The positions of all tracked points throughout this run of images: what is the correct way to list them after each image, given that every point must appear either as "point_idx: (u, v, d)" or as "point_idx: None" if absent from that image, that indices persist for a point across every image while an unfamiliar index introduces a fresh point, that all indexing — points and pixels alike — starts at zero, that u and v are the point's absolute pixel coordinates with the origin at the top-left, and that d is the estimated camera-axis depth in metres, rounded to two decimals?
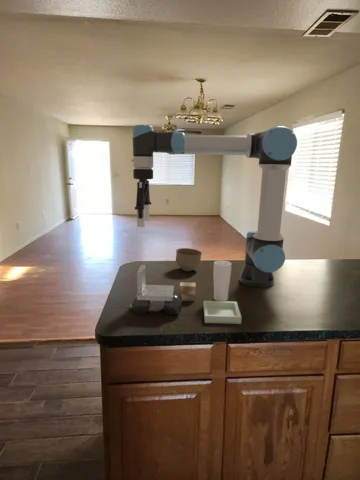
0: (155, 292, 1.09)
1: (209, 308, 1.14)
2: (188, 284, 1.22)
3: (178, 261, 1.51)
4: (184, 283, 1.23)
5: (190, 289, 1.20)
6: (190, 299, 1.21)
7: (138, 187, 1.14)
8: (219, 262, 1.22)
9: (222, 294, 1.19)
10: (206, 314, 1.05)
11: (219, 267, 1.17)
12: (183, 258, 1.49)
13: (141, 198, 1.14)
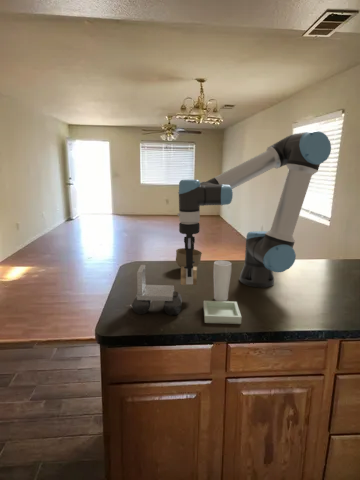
0: (155, 292, 1.09)
1: (209, 308, 1.14)
2: None
3: (178, 261, 1.51)
4: None
5: None
6: None
7: (187, 248, 1.12)
8: (219, 262, 1.22)
9: (222, 294, 1.19)
10: (206, 314, 1.05)
11: (219, 267, 1.17)
12: (183, 258, 1.49)
13: (191, 259, 1.13)
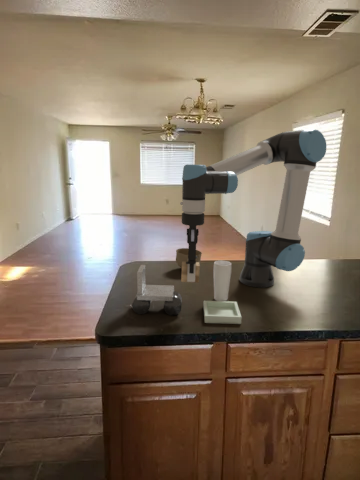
0: (155, 292, 1.09)
1: (209, 308, 1.14)
2: None
3: (178, 261, 1.51)
4: None
5: None
6: None
7: (190, 241, 1.00)
8: (219, 262, 1.22)
9: (222, 294, 1.19)
10: (206, 314, 1.05)
11: (219, 267, 1.17)
12: (183, 258, 1.49)
13: (193, 253, 1.01)
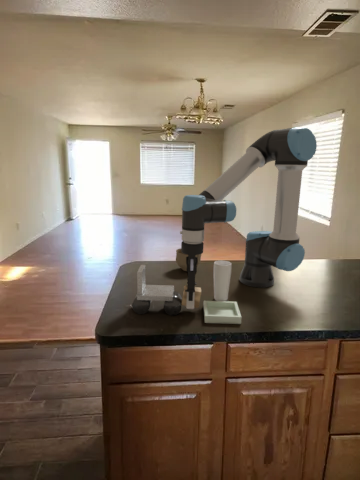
0: (155, 292, 1.09)
1: (209, 308, 1.14)
2: None
3: (178, 261, 1.51)
4: None
5: None
6: None
7: (189, 270, 1.02)
8: (219, 262, 1.22)
9: (222, 294, 1.19)
10: (206, 314, 1.05)
11: (219, 267, 1.17)
12: (183, 258, 1.49)
13: (193, 282, 1.04)
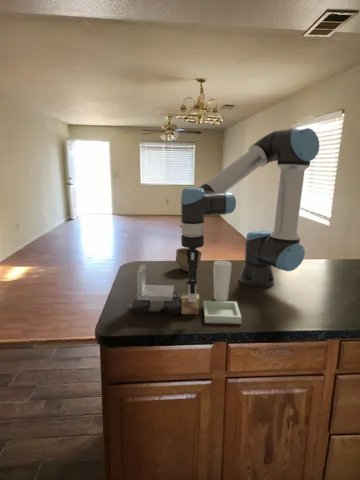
0: (155, 292, 1.09)
1: (209, 308, 1.14)
2: None
3: (178, 261, 1.51)
4: (186, 295, 1.12)
5: (193, 302, 1.09)
6: (193, 312, 1.10)
7: (190, 259, 1.01)
8: (219, 262, 1.22)
9: (222, 294, 1.19)
10: (206, 314, 1.05)
11: (219, 267, 1.17)
12: (183, 258, 1.49)
13: (194, 272, 1.00)
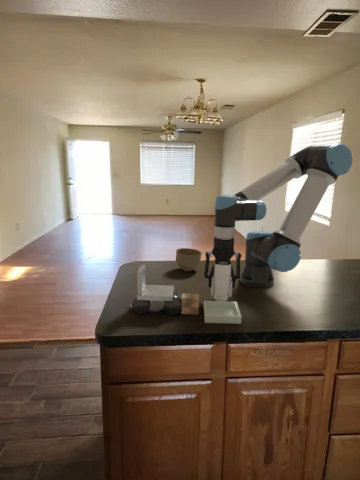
0: (155, 292, 1.09)
1: (209, 308, 1.14)
2: (191, 296, 1.11)
3: (178, 261, 1.51)
4: (186, 295, 1.12)
5: (193, 302, 1.09)
6: (193, 312, 1.10)
7: None
8: (219, 262, 1.22)
9: (222, 294, 1.19)
10: (206, 314, 1.05)
11: (219, 267, 1.17)
12: (183, 258, 1.49)
13: (205, 268, 1.19)
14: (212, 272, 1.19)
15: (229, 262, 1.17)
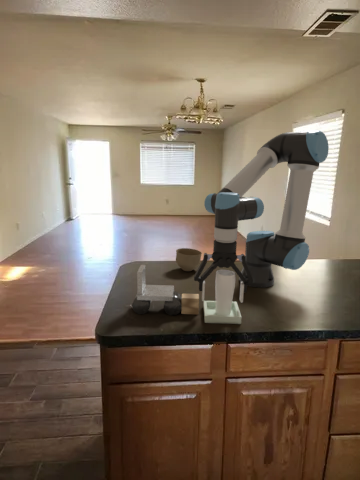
0: (155, 292, 1.09)
1: (209, 308, 1.14)
2: (191, 296, 1.11)
3: (178, 261, 1.51)
4: (186, 295, 1.12)
5: (193, 302, 1.09)
6: (193, 312, 1.10)
7: (203, 258, 1.06)
8: (222, 271, 1.10)
9: (225, 307, 1.07)
10: (206, 314, 1.05)
11: (222, 278, 1.04)
12: (183, 258, 1.49)
13: (198, 270, 1.06)
14: (205, 275, 1.06)
15: (234, 267, 1.04)
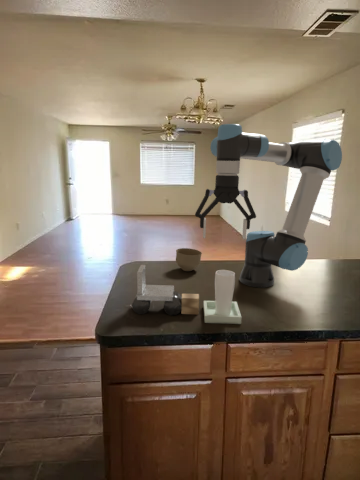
0: (155, 292, 1.09)
1: (209, 308, 1.14)
2: (191, 296, 1.11)
3: (178, 261, 1.51)
4: (186, 295, 1.12)
5: (193, 302, 1.09)
6: (193, 312, 1.10)
7: (205, 194, 1.05)
8: (221, 272, 1.10)
9: (224, 308, 1.07)
10: (206, 314, 1.05)
11: (221, 278, 1.04)
12: (183, 258, 1.49)
13: (199, 206, 1.05)
14: (206, 211, 1.05)
15: (236, 201, 1.03)
